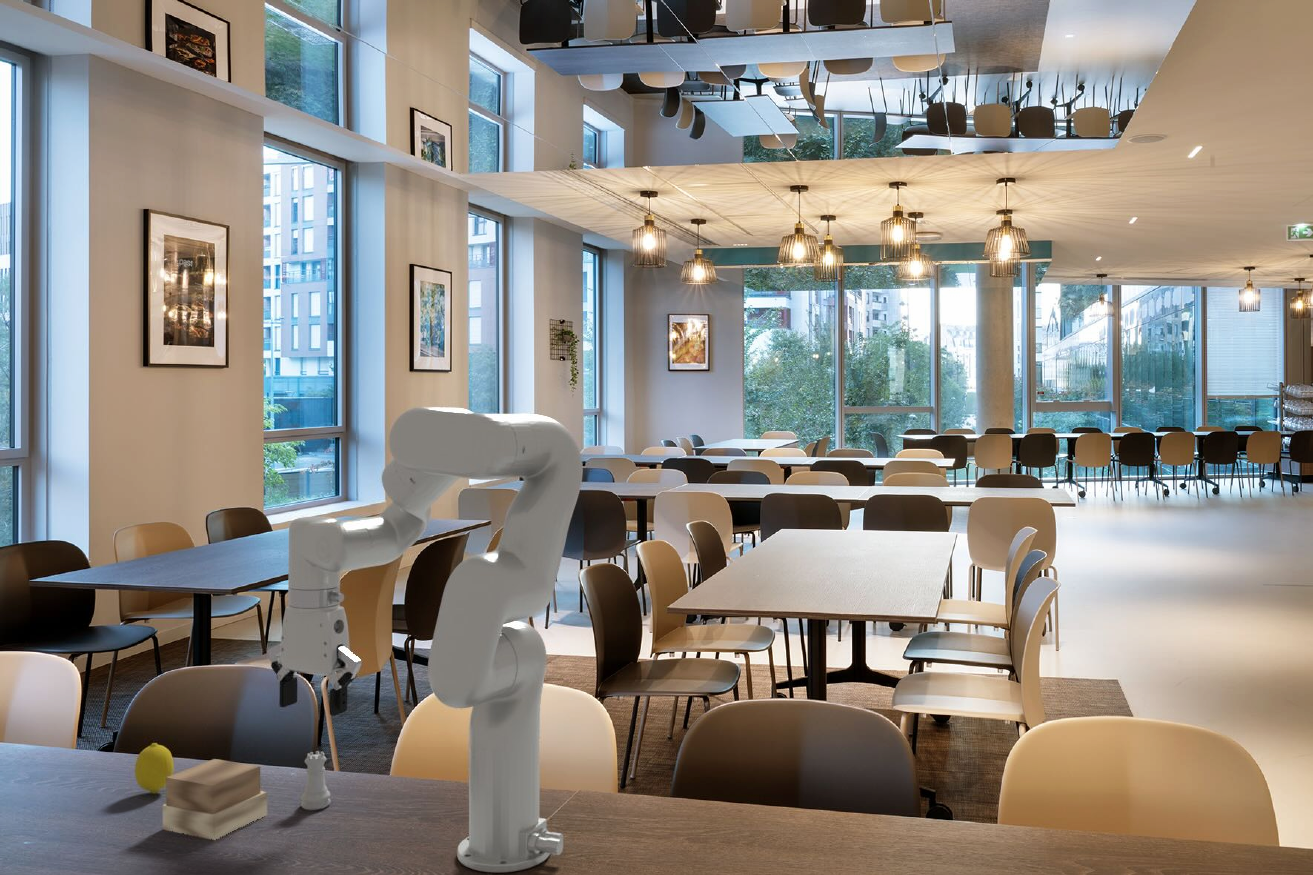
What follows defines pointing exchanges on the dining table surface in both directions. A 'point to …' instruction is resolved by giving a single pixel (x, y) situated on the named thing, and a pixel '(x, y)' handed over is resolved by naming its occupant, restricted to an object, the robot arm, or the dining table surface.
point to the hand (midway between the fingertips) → (313, 709)
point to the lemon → (153, 767)
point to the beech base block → (215, 818)
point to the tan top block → (213, 786)
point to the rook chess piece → (315, 783)
